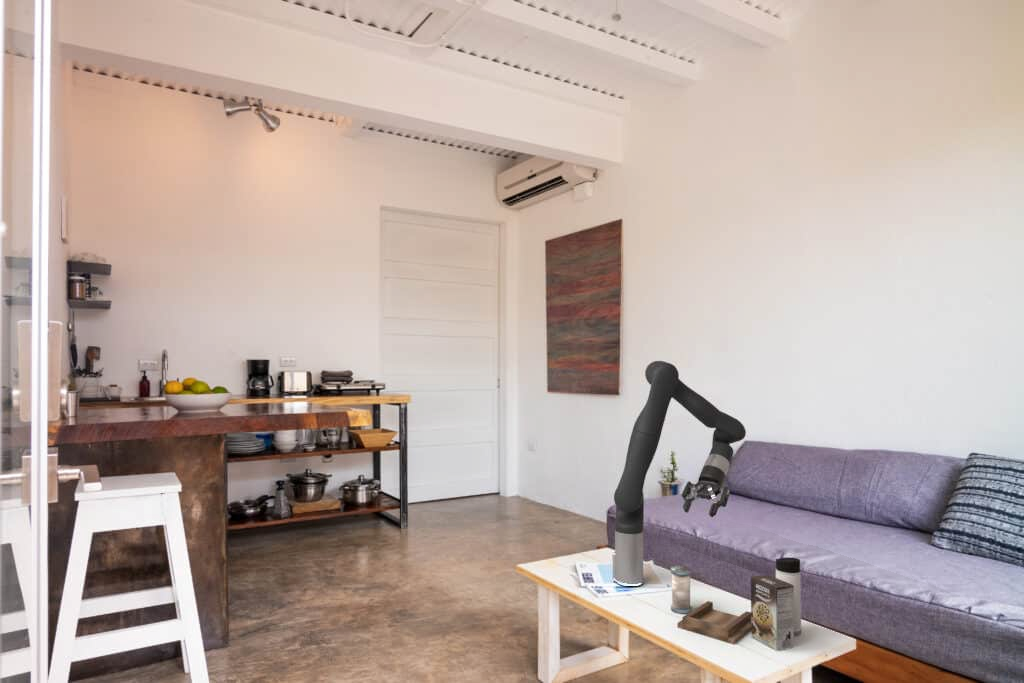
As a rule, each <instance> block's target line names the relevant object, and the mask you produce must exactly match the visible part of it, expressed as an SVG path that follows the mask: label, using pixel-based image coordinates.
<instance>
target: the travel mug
mask: <svg viewBox="0 0 1024 683" xmlns="http://www.w3.org/2000/svg"><path fill="white" fill-rule="evenodd" d="M801 577H802V576H801V560H800V558H795V557H785V556H784V557H781V558H776V559H775V578H777V579H780V580H782V581H785V582H787V583H789V584H792V585H794V637H796V636H800V635H801V634H802V601H801V600H802V592H801V591H802V588H801V586H802V584H801V581H802V580H801Z"/></svg>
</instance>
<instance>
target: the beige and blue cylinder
mask: <svg viewBox="0 0 1024 683" xmlns="http://www.w3.org/2000/svg"><path fill="white" fill-rule="evenodd" d="M670 574H671V605H670V610H671V612H673V613H675V614H678V615H679V614H680V615H686V614H688V613H690V612H691V611H693V607H692V605H691V575H692V568H689V567H688V566H680V565H675V566H671V567H670Z"/></svg>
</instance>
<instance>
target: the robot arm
mask: <svg viewBox="0 0 1024 683" xmlns="http://www.w3.org/2000/svg"><path fill="white" fill-rule="evenodd" d="M644 373H645V374H644V376H645V379H646V381H647V383H649V385H650V388H649V393H648V397H647V398H648V399H647V400H646V403H645V405H644V406H643V408H642V410H641V411H640V413H639V415H638V416H637V418H636V419H635V421H634V425H633V428H632V432H631V434H630V439H629V444H628V445H627V447H628V448H627V452H626V457H625V463H624V468H623V471H622V474H621V477H620V480H619V482H618V484H617V488H616V489H615V492H613V493H614V494H613V500H614V504H615V511H616V512H615V520H614V542H615V543H614V546H615V547H614V549H615V550H614V552H613V553H612V579H613V578H615V579H616V580H617V581H620V582H622V583H627V584H638V583H642V582H643V583H644V518H645V515H644V514H645V513H644V512H645V511H644V510H645V508H644V506H645V505H644V503H645V502H644V501H645V500H644V499H645V498H644V485H645V481H646V476H647V473H648V470H649V469H650V466H651V464H652V463H653V460H654V457H655V455H656V452H657V449H658V448H659V447H658V445H659V443H660V439H661V436H662V431H663V428H664V424H665V421H666V416H667V414H668V409H669V406H670V403H671V400H672V399H673V400H675V402H677V403H678V404H680V405H681V406H682V407H683V408H684V409H685V410H686V411H688V413H690V414H691V415H692V416H693V417H694V418H695V419H697V421H699V422H700V423H702V424H703V426H705V427H707V428H709V429H714V431H713V433H712V440H711V442H712V443H711V445H712V446H711V449H710V451H709V453H708V456H707V457H706V460H705V462H704V464H703V466H702V468H701V471H700V474H699V476H698V480H697V482H696V483H692V482H691V481H689V480H688V481H687V483H686V485H685V486H684V488H683V490H682V492H681V497H682V498H683V501H684V503H683V505H682V508H683V511H684V512H685V513H687V514H689V511H690V509H691V507H692V503H693V502H694V501H698V500H700V499H702V500H703V499H704V500H709V501H710V500H712V501H713V503H712V504H711V505H710V509H709V512H708V515H709V516H710V518H714V517H715V516H716V515H717V512H718V510H719V509H720V508H721V507H722V508H725V507H726V506H727V504H728V500H729V496H730V494H731V492H730V490H729V487H728V486H724V487H723V485H724V482H725V479H726V477H727V475H728V472H729V468H730V464H731V462H732V459H733V456H734V448H733V447H732V446H731V444H734V443H737V442H741V441H743V440H744V439H745V437H746V435H747V430H746V428H745V426H744V424H743V423H742V422H741V421H740V420H739V419H737V418H735V417H734V416H732V415H729V414H727V413H725V412H723V411H721V410H720V409H719V408H717V407H716V406H715V405H714V404H712V403H711V402H710V401H709V400H707V399H706V398H705V397H704V396H702V395H701V394H699V393H698V392H696V391H695V390H693V389H692V388H690V387H689V386H687V384H686V383H685V382H683V381H682V380H681V379H680V377H679V376H680V375H679V374H680V373H679V370H678V369H677V367H676V366H675V365H674V364H672V363H670V362H666V361H663V360H655V361H652V362H650V363H649V364H648V365H647V366H646V368H645V372H644ZM720 493H721V496H720V498H719V500H718V497H717V496H718V495H720Z"/></svg>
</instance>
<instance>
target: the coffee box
mask: <svg viewBox="0 0 1024 683" xmlns="http://www.w3.org/2000/svg"><path fill="white" fill-rule="evenodd" d="M750 612H751V631H750V633H751V634H750V636H751V639H754V640H755V641H757V642H759V643H761V644H762V645H765V646H767V647H768V648H770V649H772V650H774V649H775V650H774V651H776V652H778V651H777V650H779V651H783V650H787V648H788V649H792V648H794V647H795V644H794V640H795V639H794V637H795V636H794V585H792V584H789V583H787V582H785V581H782V580H780V579H777V578H776V576H775V577H774V576H773V575H770V574H765V575H755V576H751V577H750ZM782 649H783V650H782Z"/></svg>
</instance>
